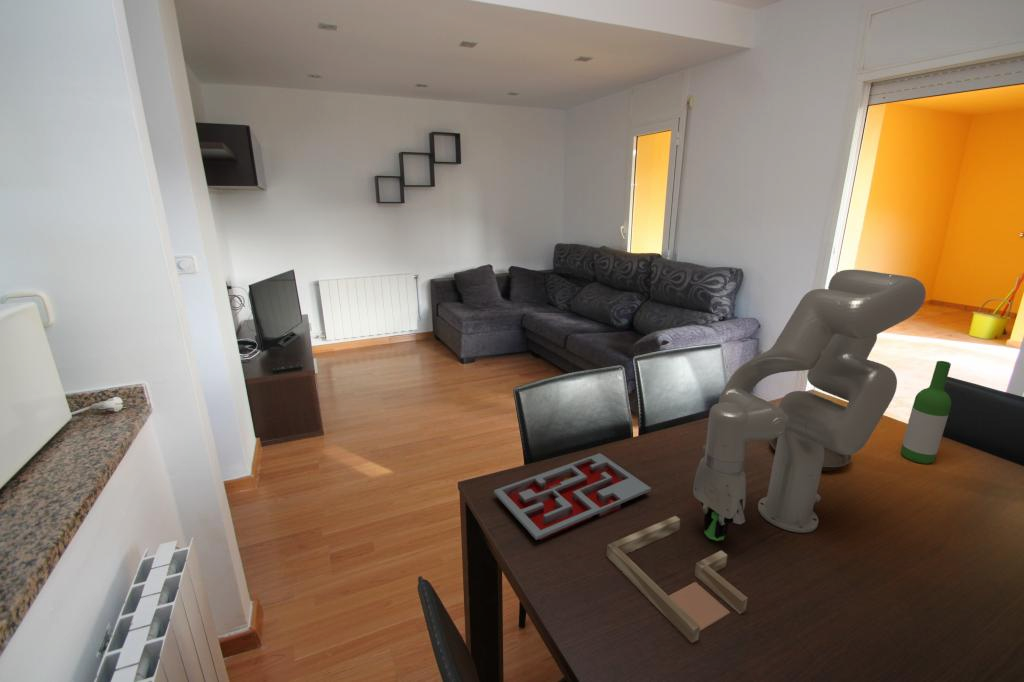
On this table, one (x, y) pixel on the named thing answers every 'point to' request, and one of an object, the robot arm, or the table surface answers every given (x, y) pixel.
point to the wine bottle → (928, 418)
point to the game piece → (713, 527)
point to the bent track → (690, 603)
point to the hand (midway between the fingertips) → (715, 531)
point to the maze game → (570, 495)
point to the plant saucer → (826, 458)
